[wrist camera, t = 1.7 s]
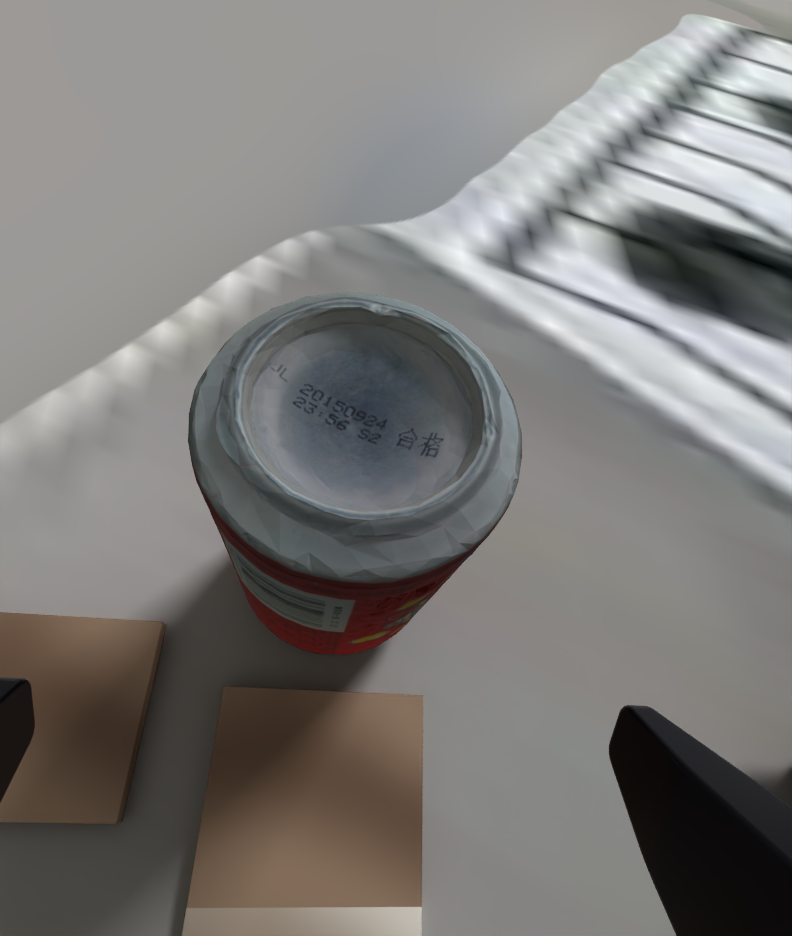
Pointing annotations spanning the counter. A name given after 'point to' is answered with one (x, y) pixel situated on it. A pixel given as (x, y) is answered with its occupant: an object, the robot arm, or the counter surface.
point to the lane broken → (78, 713)
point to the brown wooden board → (311, 817)
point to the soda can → (351, 463)
